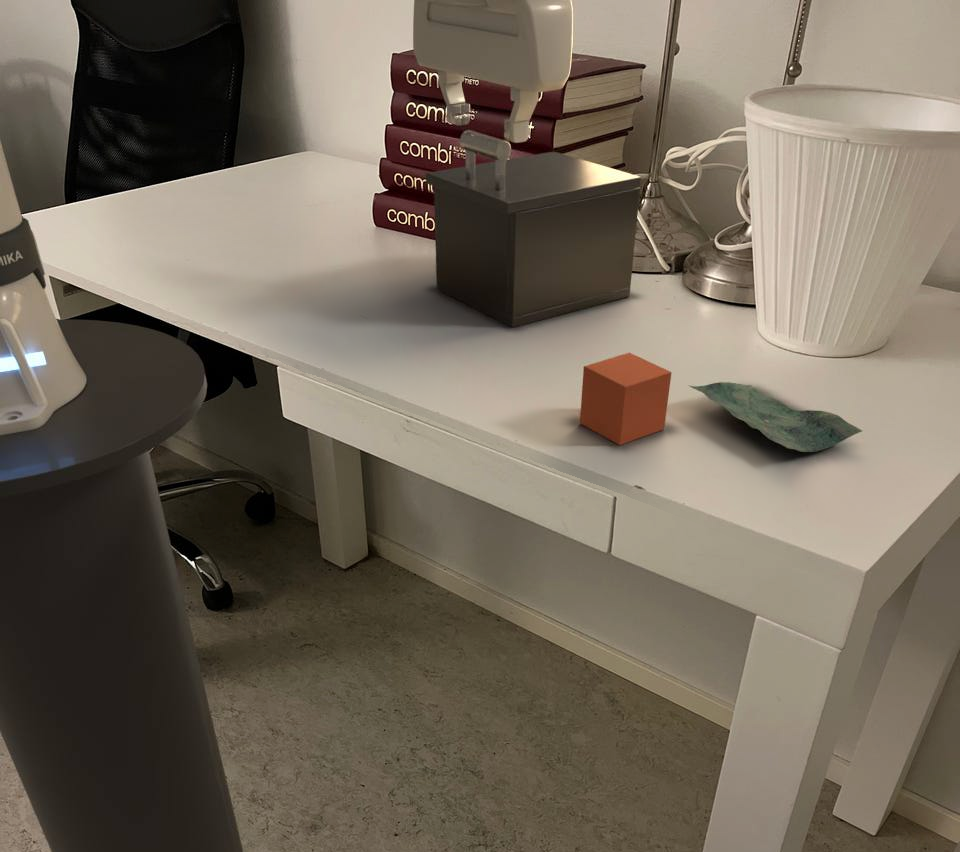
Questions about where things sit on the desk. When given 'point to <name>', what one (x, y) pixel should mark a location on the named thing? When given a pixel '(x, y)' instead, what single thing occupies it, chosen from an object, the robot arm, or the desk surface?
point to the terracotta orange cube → (624, 398)
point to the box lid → (526, 177)
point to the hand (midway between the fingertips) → (486, 132)
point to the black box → (535, 255)
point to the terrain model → (780, 418)
